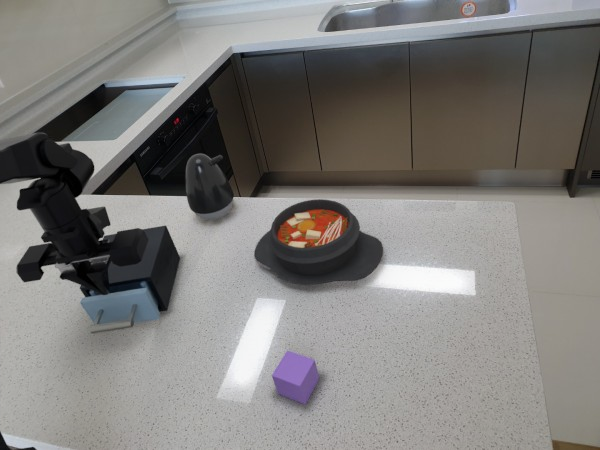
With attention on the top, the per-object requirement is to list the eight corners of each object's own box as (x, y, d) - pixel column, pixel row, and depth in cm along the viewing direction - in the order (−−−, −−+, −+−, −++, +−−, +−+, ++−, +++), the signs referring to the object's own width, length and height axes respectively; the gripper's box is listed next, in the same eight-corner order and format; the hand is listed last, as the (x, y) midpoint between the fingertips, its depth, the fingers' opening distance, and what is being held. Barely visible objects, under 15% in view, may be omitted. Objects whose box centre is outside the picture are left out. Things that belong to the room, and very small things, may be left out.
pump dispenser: (236, 223, 101) (217, 163, 92) (190, 229, 102) (167, 171, 93) (241, 197, 109) (224, 140, 100) (199, 203, 110) (178, 147, 101)
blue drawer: (153, 340, 77) (138, 313, 73) (88, 350, 77) (69, 324, 73) (172, 267, 91) (160, 241, 87) (117, 276, 92) (103, 250, 88)
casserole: (396, 236, 89) (394, 201, 84) (364, 306, 76) (359, 269, 71) (282, 219, 99) (274, 187, 94) (238, 278, 87) (226, 244, 82)
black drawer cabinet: (167, 310, 83) (150, 276, 78) (100, 321, 84) (79, 288, 79) (180, 257, 95) (166, 225, 90) (121, 267, 96) (104, 235, 90)
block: (305, 404, 64) (299, 386, 61) (277, 393, 66) (271, 375, 63) (319, 378, 67) (315, 359, 64) (292, 368, 69) (287, 350, 66)
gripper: (137, 177, 72) (170, 252, 81) (23, 197, 73) (69, 268, 82) (117, 218, 63) (158, 297, 72) (-11, 240, 64) (45, 315, 73)
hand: (106, 293), depth 75 cm, fingers closed
